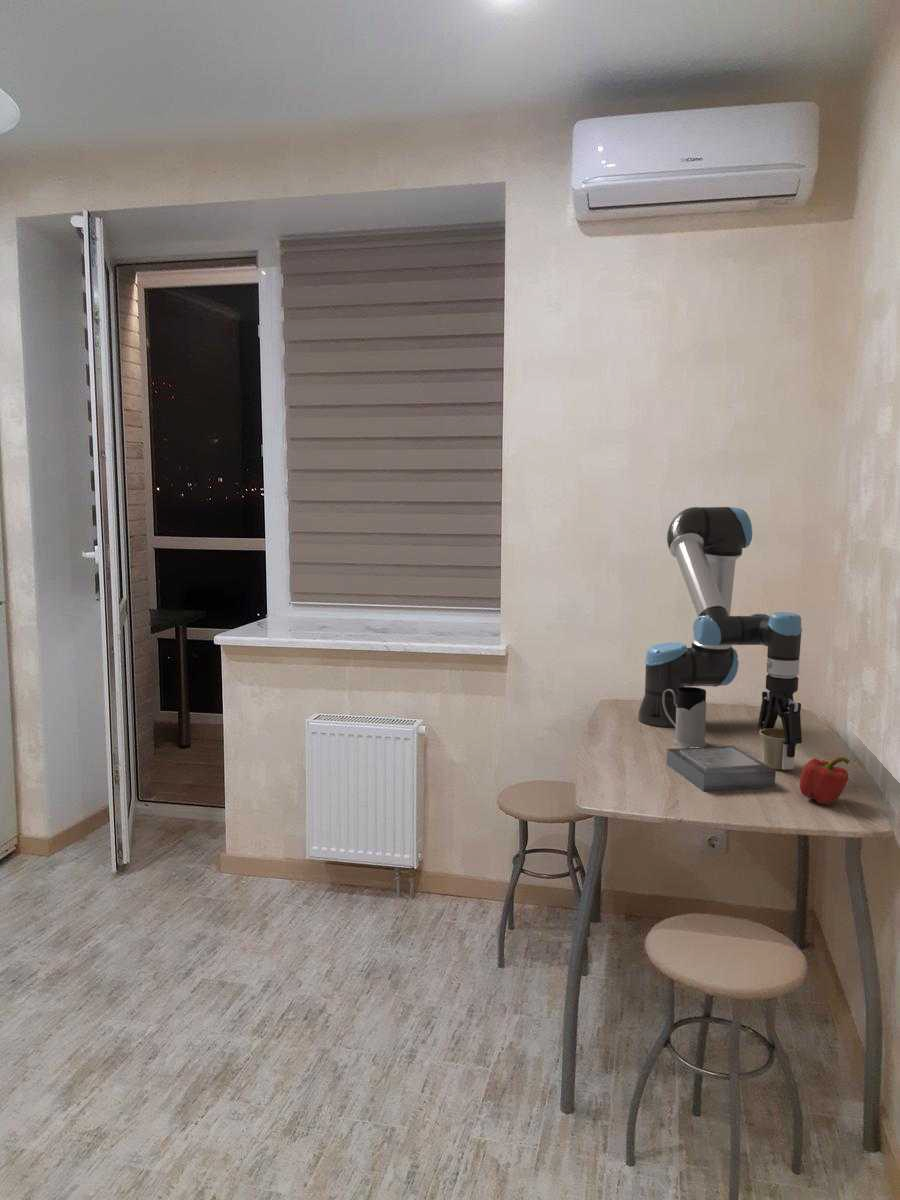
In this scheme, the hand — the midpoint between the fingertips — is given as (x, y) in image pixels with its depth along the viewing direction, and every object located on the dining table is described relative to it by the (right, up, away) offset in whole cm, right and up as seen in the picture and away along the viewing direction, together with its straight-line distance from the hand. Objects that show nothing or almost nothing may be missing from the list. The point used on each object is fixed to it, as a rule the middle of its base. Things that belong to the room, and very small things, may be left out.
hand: (777, 763), depth 216 cm
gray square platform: (-17, -2, -7) cm, 18 cm away
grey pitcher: (-18, +2, +22) cm, 29 cm away
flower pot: (0, -1, 0) cm, 1 cm away
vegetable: (+1, -4, -24) cm, 24 cm away
